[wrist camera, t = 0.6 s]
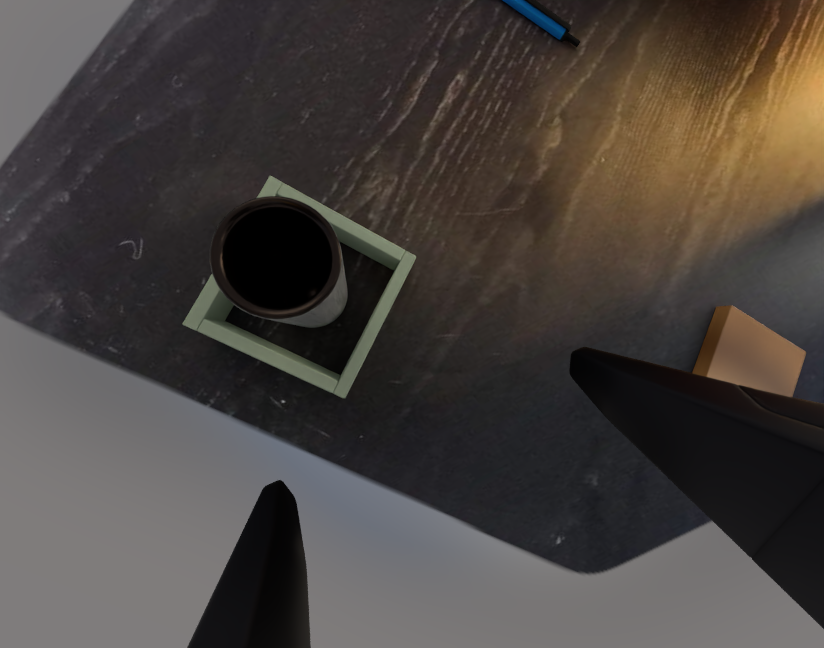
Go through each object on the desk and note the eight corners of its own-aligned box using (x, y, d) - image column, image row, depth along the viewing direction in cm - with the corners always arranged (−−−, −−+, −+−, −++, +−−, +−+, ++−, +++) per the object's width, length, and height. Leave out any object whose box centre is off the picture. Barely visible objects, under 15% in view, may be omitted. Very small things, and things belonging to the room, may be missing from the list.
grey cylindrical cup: (353, 320, 22) (353, 306, 12) (286, 334, 21) (222, 331, 11) (340, 256, 22) (328, 187, 12) (272, 267, 21) (195, 202, 11)
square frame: (346, 390, 21) (344, 399, 18) (206, 326, 20) (181, 324, 17) (408, 266, 23) (417, 256, 20) (281, 197, 21) (270, 175, 18)
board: (758, 443, 28) (776, 447, 27) (681, 400, 26) (696, 403, 25) (788, 351, 29) (806, 352, 28) (715, 306, 27) (732, 305, 26)
